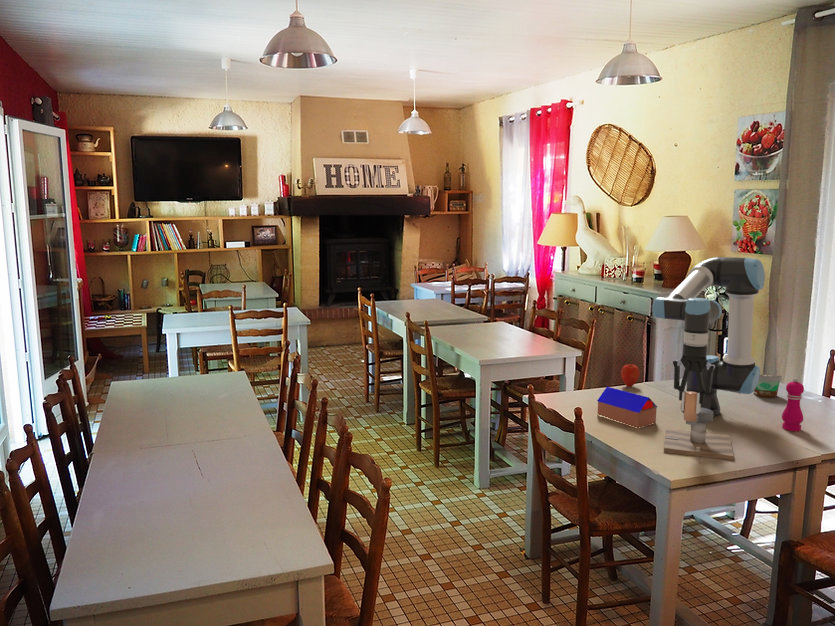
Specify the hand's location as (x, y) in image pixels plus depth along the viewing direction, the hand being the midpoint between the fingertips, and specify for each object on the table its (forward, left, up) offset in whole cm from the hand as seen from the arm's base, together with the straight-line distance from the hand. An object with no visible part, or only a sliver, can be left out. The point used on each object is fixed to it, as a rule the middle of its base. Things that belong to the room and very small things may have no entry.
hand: (690, 411), depth 233 cm
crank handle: (-6, +2, -5) cm, 8 cm away
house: (-31, -23, -16) cm, 42 cm away
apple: (-83, -25, -15) cm, 88 cm away
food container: (-86, +33, -15) cm, 94 cm away
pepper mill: (-41, +37, -15) cm, 58 cm away
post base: (-9, +3, -15) cm, 18 cm away
